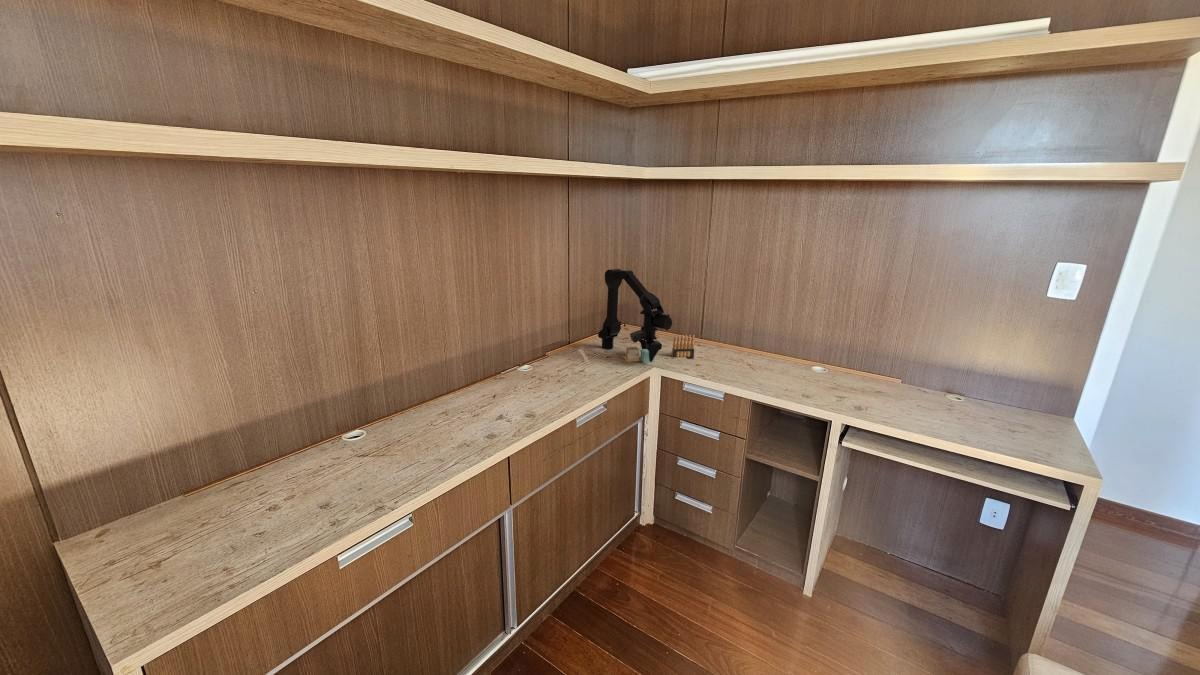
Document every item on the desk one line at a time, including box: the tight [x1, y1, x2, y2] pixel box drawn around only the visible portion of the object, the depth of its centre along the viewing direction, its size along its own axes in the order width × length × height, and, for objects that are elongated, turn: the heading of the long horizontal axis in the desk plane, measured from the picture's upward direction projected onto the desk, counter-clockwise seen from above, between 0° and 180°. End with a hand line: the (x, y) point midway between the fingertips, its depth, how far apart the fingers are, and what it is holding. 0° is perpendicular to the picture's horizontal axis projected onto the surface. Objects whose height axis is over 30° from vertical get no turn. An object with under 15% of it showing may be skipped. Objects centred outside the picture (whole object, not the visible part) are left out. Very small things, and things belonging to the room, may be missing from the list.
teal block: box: [639, 348, 656, 364], centre depth 226 cm, size 5×5×5 cm
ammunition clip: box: [670, 334, 695, 360], centre depth 234 cm, size 11×2×12 cm, turn 101°
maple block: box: [624, 346, 640, 362], centre depth 229 cm, size 5×5×5 cm
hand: (647, 358), depth 227 cm, fingers open, 9 cm apart
